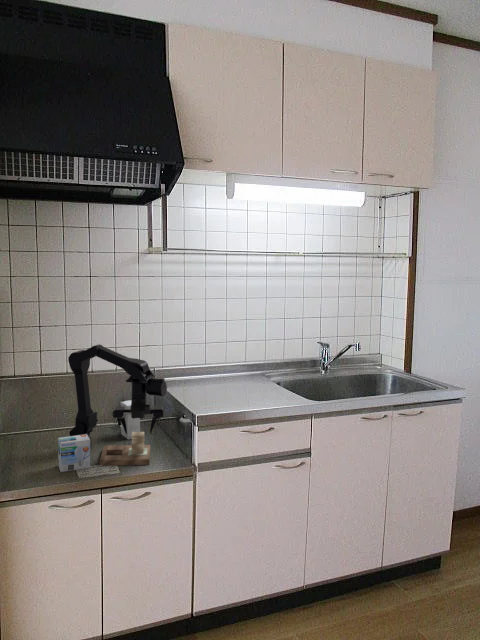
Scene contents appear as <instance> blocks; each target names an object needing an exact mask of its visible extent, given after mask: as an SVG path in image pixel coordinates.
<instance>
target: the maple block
mask: <svg viewBox="0 0 480 640" xmlns="http://www.w3.org/2000/svg"><path fill="white" fill-rule="evenodd" d="M131 445H132V454H138V453H144V445H145V431H140V432H132V439H131Z"/></svg>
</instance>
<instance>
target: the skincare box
mask: <svg viewBox="0 0 480 640" xmlns="http://www.w3.org/2000/svg"><path fill="white" fill-rule="evenodd" d="M119 403H120V407H125V409H131V399H130V400H123V401H120V402H119ZM126 423H127V434H126V433H125V430H124V427H123V425H122V423H121V422H120V434H121V435H122V436H123V437H124V438H125V439H126V440H132V432H141V418H135V419H133V418H132V417H131V414H126Z"/></svg>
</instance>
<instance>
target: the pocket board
mask: <svg viewBox="0 0 480 640" xmlns="http://www.w3.org/2000/svg"><path fill="white" fill-rule="evenodd" d="M150 457H151V444H144V453H138V454H132V444H129V445H127V444H123V445H119V444H118V445H117V444H116V445H115V444H113V445H111V444H110V445H103V449H102V452H101V455H100V458H99V466H100V465H102V466H131V465H132V466H133V465H134V466H135V465H136V466H139V465H140V466H141V465H150V459H151V458H150Z"/></svg>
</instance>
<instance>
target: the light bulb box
mask: <svg viewBox="0 0 480 640" xmlns="http://www.w3.org/2000/svg"><path fill="white" fill-rule="evenodd" d="M57 452H58V453H57V462H58V463H57V465H58V469H59V470H60V471H59V472H60V473H63V472H64V473H65V472H69V471H71V472H72V471H77V470H78V471H79V470H83V469H84V470H85V469H90V468H91V449H90V439H89V437H88V435H87V434H84V435H77V436H70V435H68V436H63V437H62V436H61V437H58V438H57Z"/></svg>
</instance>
